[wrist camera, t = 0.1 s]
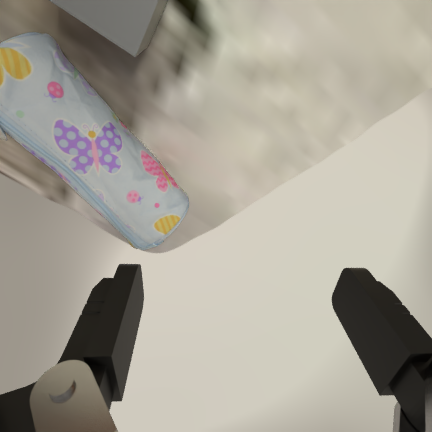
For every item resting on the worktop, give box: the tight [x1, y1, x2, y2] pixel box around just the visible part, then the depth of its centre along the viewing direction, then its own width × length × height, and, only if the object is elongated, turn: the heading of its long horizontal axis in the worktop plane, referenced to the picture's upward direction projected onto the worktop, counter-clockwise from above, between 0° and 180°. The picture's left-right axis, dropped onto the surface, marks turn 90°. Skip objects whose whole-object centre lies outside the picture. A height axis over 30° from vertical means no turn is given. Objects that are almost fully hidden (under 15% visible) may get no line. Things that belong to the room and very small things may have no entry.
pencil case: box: [0, 32, 189, 250], centre depth 26 cm, size 21×9×10 cm, turn 33°
